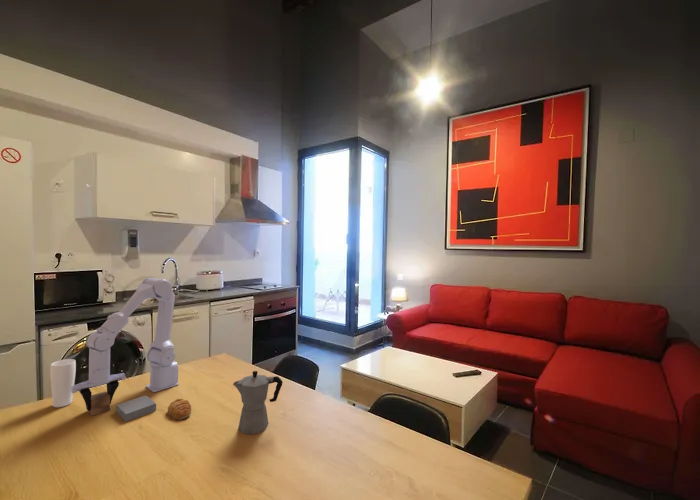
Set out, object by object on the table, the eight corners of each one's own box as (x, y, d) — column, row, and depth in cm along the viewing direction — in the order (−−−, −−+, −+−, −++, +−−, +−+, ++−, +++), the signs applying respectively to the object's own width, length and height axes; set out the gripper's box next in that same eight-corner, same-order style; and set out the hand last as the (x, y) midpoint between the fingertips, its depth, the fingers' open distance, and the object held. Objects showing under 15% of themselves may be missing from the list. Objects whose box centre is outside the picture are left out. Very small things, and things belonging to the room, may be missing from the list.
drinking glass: (63, 409, 109) (63, 366, 109) (43, 408, 109) (44, 365, 109) (80, 400, 116) (81, 359, 115) (62, 399, 116) (62, 358, 115)
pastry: (196, 416, 108) (196, 405, 108) (174, 424, 103) (174, 412, 103) (186, 405, 114) (186, 395, 114) (165, 412, 110) (165, 401, 109)
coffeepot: (230, 438, 96) (232, 379, 96) (232, 421, 105) (234, 367, 105) (282, 430, 101) (284, 374, 100) (280, 415, 110) (281, 363, 109)
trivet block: (145, 403, 116) (145, 395, 115) (156, 411, 110) (156, 403, 110) (116, 413, 108) (116, 404, 108) (125, 423, 103) (125, 414, 103)
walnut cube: (105, 405, 113) (105, 391, 113) (109, 410, 110) (110, 395, 109) (87, 410, 109) (87, 396, 109) (91, 416, 106) (92, 401, 106)
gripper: (120, 358, 117) (120, 395, 117) (69, 370, 106) (68, 410, 106) (127, 363, 113) (126, 401, 113) (74, 376, 101) (73, 418, 102)
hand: (98, 406), depth 109 cm, fingers closed on walnut cube, 5 cm apart
